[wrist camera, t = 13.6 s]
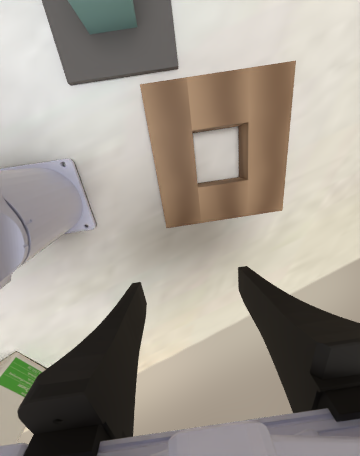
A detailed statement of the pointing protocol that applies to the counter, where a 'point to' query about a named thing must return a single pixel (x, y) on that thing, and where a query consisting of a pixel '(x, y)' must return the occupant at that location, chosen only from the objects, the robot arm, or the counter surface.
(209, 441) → the robot arm
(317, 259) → the counter surface
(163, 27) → the rubber mat
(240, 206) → the wooden square hole board
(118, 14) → the teal plug
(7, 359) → the skincare box
